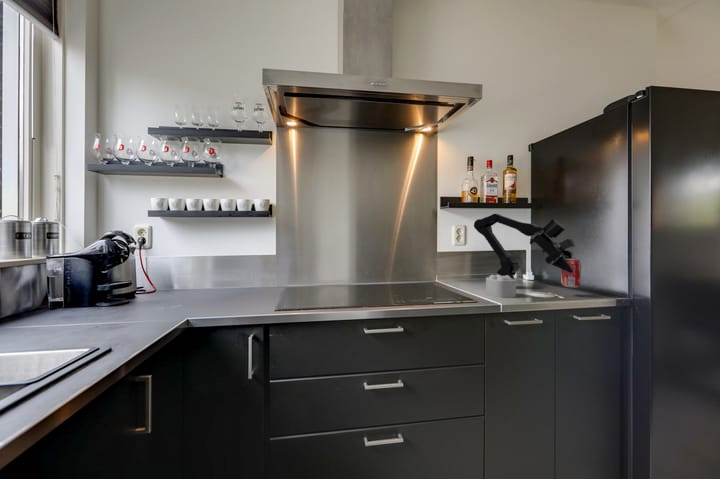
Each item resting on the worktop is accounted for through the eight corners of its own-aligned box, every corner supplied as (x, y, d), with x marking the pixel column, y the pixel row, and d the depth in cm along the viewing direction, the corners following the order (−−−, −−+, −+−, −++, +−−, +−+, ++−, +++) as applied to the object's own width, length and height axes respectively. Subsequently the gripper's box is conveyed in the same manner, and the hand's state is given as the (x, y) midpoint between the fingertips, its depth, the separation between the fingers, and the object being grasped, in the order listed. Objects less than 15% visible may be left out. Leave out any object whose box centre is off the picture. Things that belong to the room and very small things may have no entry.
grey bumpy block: (497, 298, 131) (498, 277, 131) (479, 292, 144) (480, 273, 144) (519, 297, 133) (519, 277, 133) (500, 292, 146) (500, 273, 146)
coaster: (524, 295, 137) (524, 294, 137) (528, 292, 146) (528, 290, 146) (554, 298, 130) (554, 297, 130) (555, 294, 139) (556, 293, 139)
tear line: (547, 293, 143) (547, 292, 143) (549, 293, 143) (549, 292, 143) (562, 298, 131) (562, 297, 131) (564, 298, 131) (564, 297, 131)
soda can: (574, 285, 140) (575, 258, 140) (584, 288, 133) (585, 259, 132) (557, 285, 140) (558, 258, 140) (566, 287, 133) (567, 259, 133)
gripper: (554, 232, 133) (584, 260, 125) (568, 232, 145) (597, 258, 137) (533, 250, 139) (561, 277, 131) (549, 249, 151) (575, 274, 143)
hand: (574, 271), depth 135 cm, fingers closed on soda can, 7 cm apart
